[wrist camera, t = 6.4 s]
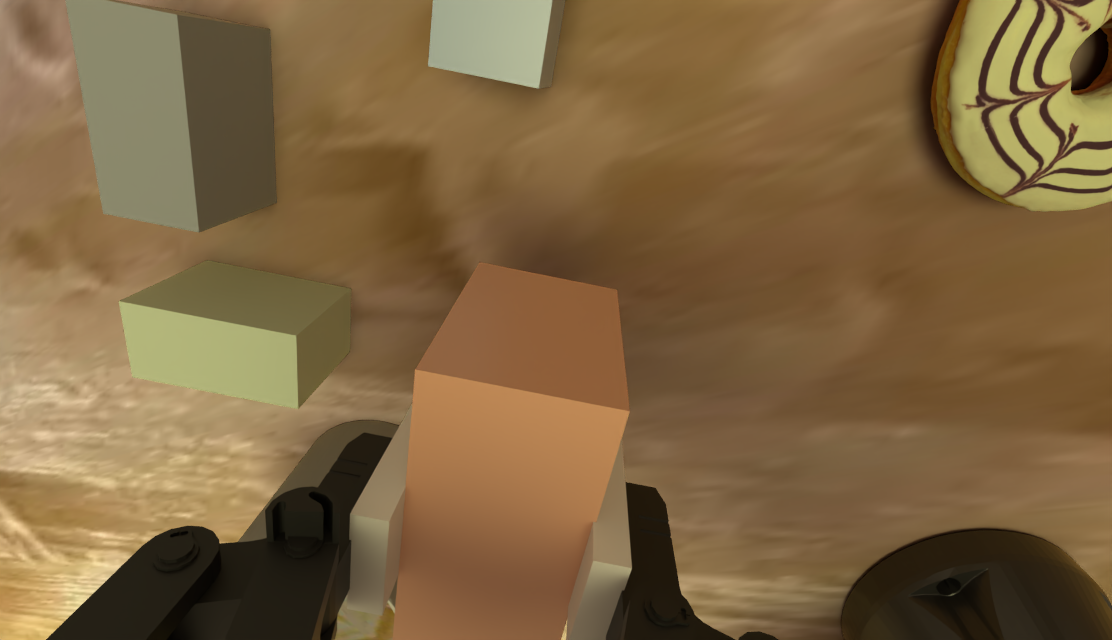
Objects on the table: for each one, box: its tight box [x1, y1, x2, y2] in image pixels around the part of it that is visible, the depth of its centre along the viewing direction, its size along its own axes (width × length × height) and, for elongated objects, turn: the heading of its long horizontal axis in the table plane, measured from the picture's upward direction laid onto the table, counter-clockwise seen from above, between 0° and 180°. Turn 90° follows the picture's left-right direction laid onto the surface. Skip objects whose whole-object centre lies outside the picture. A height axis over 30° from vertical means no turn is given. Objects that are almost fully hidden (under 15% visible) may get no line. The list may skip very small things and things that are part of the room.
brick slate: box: [65, 0, 277, 232], centre depth 23 cm, size 8×4×6 cm, turn 169°
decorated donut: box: [930, 0, 1112, 212], centre depth 21 cm, size 11×12×4 cm
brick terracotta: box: [393, 262, 630, 640], centre depth 14 cm, size 8×4×6 cm, turn 169°
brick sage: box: [119, 260, 351, 409], centre depth 27 cm, size 8×4×6 cm, turn 80°
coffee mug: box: [238, 420, 399, 640], centre depth 31 cm, size 13×10×10 cm
